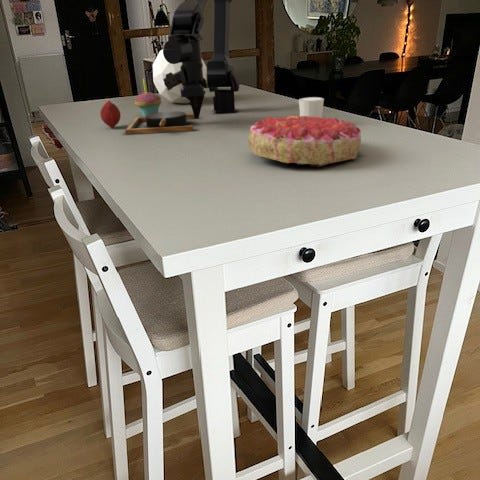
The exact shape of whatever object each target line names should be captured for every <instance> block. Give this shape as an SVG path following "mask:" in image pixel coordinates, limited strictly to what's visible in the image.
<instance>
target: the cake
mask: <svg viewBox="0 0 480 480" xmlns="http://www.w3.org/2000/svg"><path fill="white" fill-rule="evenodd" d="M361 133H362V132H361V129H360V128H359V127H358V126H356V124H354V123H352V122H349V121H346V120H344V119H341V120H339V119H338V118H337V117H322V118H321V117H307V116H301V117H300V115H299V116H298V115H287V116H285V117H284V116H276V117H274V118H273V116H272V117H271V116H267V117H266V118H264V119H261V120H259V121H256V122H255V123H254V124H251V125H250V129H249V134H248V143H247V144H248V146H247V147H248V149H249V150H250V151H251V152H252V154H253V155H255V156H258V157H261V158H265V159H269V160H274V161H278V162H280V163H284V164H285V165H288V164H292V163H294V164H296V165H297V166H298V167H300V166H302V165H309V167H312V168H321V167H323V166H326V165H328V164H335V163H339V162H344V161H348V160H356V159H357V158H358V155H359V151H360V147H361V143H362V135H361Z"/></svg>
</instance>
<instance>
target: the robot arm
mask: <svg viewBox="0 0 480 480" xmlns="http://www.w3.org/2000/svg"><path fill="white" fill-rule="evenodd" d="M208 1H209V0H185V1H183V2H181V3H180V4H179V5H178V6H177V8H176V9H175V11H174V12H173V16H172V20H171V25H170V29H169V34H168V35H167V41H165V43H164V45H163V47H162V48H163V49H162V50H163V55H164V58H165V59H166V61H167V62H169V63H170V64H177V63H181V62H182V65H181V66H180V69H181V70H180V71H178V72H176V73H174V74H173V73H171V72H170V73H168V74H166V78H164V79H163V81H164V84H165V85H166V87H167V89H168V90H171V89H172V88H173V87H175V86H177V85H179V84H181V83H182V86H183V87H182V88H181V97H186V98H187V99H188V100H189V101H190V102H189V104H190V107H191V110H192V114H194V117H195V120H196V119H197V120H198V119H199V118H200V114H201V110H202V107H203V104H204V100H205V99H204V98H205V95H206V90H205V89H207V86H208V92H209V93H214V95H213V97H212V102H213V103H212V104H213V111H214V113H215V114H226V113H227V114H228V113H229V114H230V113H236V104H235V103H236V101H235V93H236V92H239V91H240V81H239V80H238V77H237V76H236V73H235V67H234V64H233V62H232V59H231V58H230V30H231V29H230V27H231V26H230V25H231V4H232V1H233V0H212V1H213V49H212V50H213V51H212V53H213V54H212V57H211V59H210V60H208V61H207V63H206V67H207V74H206V75H207V76H206V80H205V79H204V78H203V69H202V67H203V63H202V60H203V57H202V47H201V41H203V40H204V37H203V36H202V35H201V34H200V32H201V30H202V28H203V26H204V23H205V14H204V9H205V8H206V5H207V3H208Z"/></svg>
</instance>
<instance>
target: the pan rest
mask: <svg viewBox="0 0 480 480" xmlns="http://www.w3.org/2000/svg"><path fill="white" fill-rule="evenodd" d="M186 119H187V120H193V119H195V117H194V114H193V113H186ZM195 120H196V119H195ZM140 122H142V123H143V122H146V117H143V116H136V117H134V119H133V120H132V121H131V122H130V123H129V125H128V126H127V127H126V128H125V135H136V134H157V133H174V132H175V133H176V132H192V131H194V125H192V124H191V125H186V126H173V127H163V128H161V127H155V128H147V127H141V128H139V127H138V128H136V127H137V126H138V124H139V123H140Z"/></svg>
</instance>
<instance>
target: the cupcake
mask: <svg viewBox="0 0 480 480" xmlns="http://www.w3.org/2000/svg"><path fill="white" fill-rule="evenodd" d="M142 82H143V89H144V92H142V93H140V94H138V95H137V96H136V97H135V99H134V105H135V106H137V107H138V109H139V111H140V113H141V115H142V117H146V115H149V114H152V113H157V112H159V108H160V105H161V104H162V98H161V97H160V96H161V95H160V96H159V94H157V93H153V92H148V90H147V85H146V79H145V78H144V76H142Z"/></svg>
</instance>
